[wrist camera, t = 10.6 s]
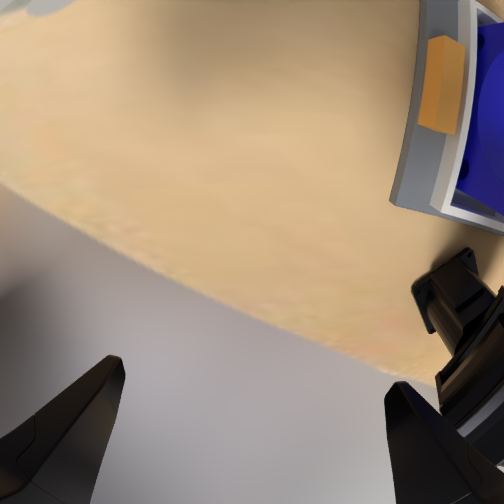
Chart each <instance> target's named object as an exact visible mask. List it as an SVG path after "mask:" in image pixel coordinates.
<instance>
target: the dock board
mask: <svg viewBox="0 0 504 504" xmlns="http://www.w3.org/2000/svg"><path fill="white" fill-rule="evenodd" d="M501 22H504V21H503V20H501V19H500V18H499V17H498V16H496V15H495V14H494V13H492V12H491V11H490V10H488V9H487V8H486V7H484V6H483V5H481V4H480V3H479V2H477V1H476V0H420V17H419V35H418V48H417V58H416V67H415V75H414V83H413V90H412V97H411V103H410V109H409V115H408V120H407V126H406V131H405V136H404V141H403V146H402V150H401V155H400V159H399V164H398V168H397V172H396V176H395V180H394V184H393V188H392V192H391V195H390V199H389V201H390V202H391V203H392V204H393V205H395V206H398V207H402V208H406V209H410V210H415V211H419V212H423V213H426V214H430V215H434V216H438V217H442V218H445V219H449V220H453V221H456V222H460V223H463V224H467V225H470V226H474V227H477V228H480V229H484V230H487V231H490V232H493V233H496V234H499V235H503V236H504V216H503V215H501V214H500V213H498V212H496V211H495V210H493V209H491V208H490V207H488V206H486V205H485V204H483V203H481V202H480V201H478V200H476V199H474V198H473V197H471V196H469V195H467V194H466V193H464V192H462V191H460V190H458V189H456V188H455V186H456V183H457V179H458V175H459V171H460V167H461V163H462V159H463V154H464V150H465V145H466V140H467V135H468V129H469V124H470V118H471V111H472V104H473V96H474V87H475V76H476V62H477V27H479V26H484V25H490V24H495V23H501Z"/></svg>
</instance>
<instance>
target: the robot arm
mask: <svg viewBox="0 0 504 504" xmlns="http://www.w3.org/2000/svg"><path fill="white" fill-rule="evenodd" d="M468 253H469V254H468ZM417 290H418V291H417ZM416 291H417V292H416ZM411 293H412V295H413V297H414V300H415V302H416V304H417V307H418V309H419V312H420V314H421V317H422V319H423V322H424V324H425V327H426V330H427V331H428V333H429V334H433V333H434V332H436V331H437V332H438V334H439V336H440V337H441V339H442V340H443V342H444V344H445V345H446V347H447V349H448V350H449V352H450V354H451V355H452V359H451V360H450V361H449V362H448V363H447V365H446V366H445V367H444V368H443V369H442V370H441V371H439V372H438V373H437V375H436V376H435V380H436V386H437V392H438V399H439V406H440V407H439V411H440V414H441V415H440V414H439V413H438V412H437V411H436V410H435V409H434V408H433V407H432V406H431V405H430V404H429V403H428V402H427V401H426V400H425V399H424V398H423V397H422V396H421V395H420V394H419V393H418V392H416V390H415V389H414V388H413V387H412V386H410V385H409V383H407V382H406V381H398V382H395V383H394V384H393V385H392V387H391V388H390V390H389V391H388V392H387V394H386V395H385V398H384V405H385V417H386V432H387V441H388V447H389V453H390V459H391V466H392V472H393V481H394V488H395V497H396V504H504V473H503V472H502V471H501V470H499V469H498V468H497V466H503V467H504V286H503V285H502V286H501V288H500V289H499V291H498V295H496V294H495V293H494V292H493V291H492V290H491V289H490V288H489V287H488V286H487V285H486V284H485V283H484V282H483V281H482V280H481V279H480V278H479V275H478V270H477V265H476V260H475V255H474V251H473V250H472V249H471V248H470V247H467V248H465V249H464V250H463V251H462V252H460V253H459V254H458V255H456V256H455V257H454V258H452V259H451V260H450V261H448V262H447V263H446V264H444V265H443V266H441V267H440V268H439V269H437V270H436V271H434V272H433V273H432V274H430V275H429V276H427V277H426V278H425V279H423V280H422V281H420V282H419V283H417V284H416V285H414V286H413V287H412V289H411ZM124 382H125V370H124V366H123V362H122V359H121V358H120V357H118V356H114V355H108V356H106V357H105V358H104V359H102V360H101V361H100V362H99V363H97V364H96V365H95V366H94V367H92V368H91V369H90V370H89V371H87V372H86V373H85V374H84V375H83V376H81V377H80V378H79V379H77V380H76V381H75V382H74V383H72V384H71V385H70V386H69V387H67V388H66V389H65V390H63V391H62V392H61V393H60V394H58V395H57V396H56V397H55V398H54V399H52V400H51V401H50V402H48V403H47V404H46V405H45V406H44V407H42V408H41V409H40V410H39V411H37V412H36V413H35V414H34V415H32V416H31V417H30V418H28V419H27V420H26V421H25V422H23V423H22V424H21V425H20V426H18V427H17V428H15V429H14V430H13V431H11V432H9V433H8V434H6V435H5V436H3V437H2V438H0V504H90V500H91V497H92V493H93V490H94V486H95V483H96V479H97V476H98V473H99V469H100V466H101V463H102V459H103V457H104V453H105V450H106V447H107V444H108V441H109V438H110V435H111V432H112V429H113V427H114V424H115V420H116V417H117V413H118V408H119V404H120V399H121V394H122V390H123V386H124Z"/></svg>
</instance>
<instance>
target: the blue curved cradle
mask: <svg viewBox="0 0 504 504" xmlns="http://www.w3.org/2000/svg"><path fill="white" fill-rule="evenodd" d="M455 188H456V189H458V190H460V191H462V192H464V193H466V194H467V195H469V196H471V197H473V198H474V199H476V200H478V201H480V202H481V203H483V204H485V205H486V206H488V207H490V208H491V209H493V210H495V211H496V212H498V213H500V214H501V215H503V216H504V22H501V23H495V24H490V25H484V26H479V27H477V62H476V76H475V87H474V96H473V104H472V111H471V118H470V124H469V129H468V135H467V140H466V145H465V150H464V154H463V159H462V163H461V167H460V171H459V175H458V179H457V183H456V186H455Z"/></svg>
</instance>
